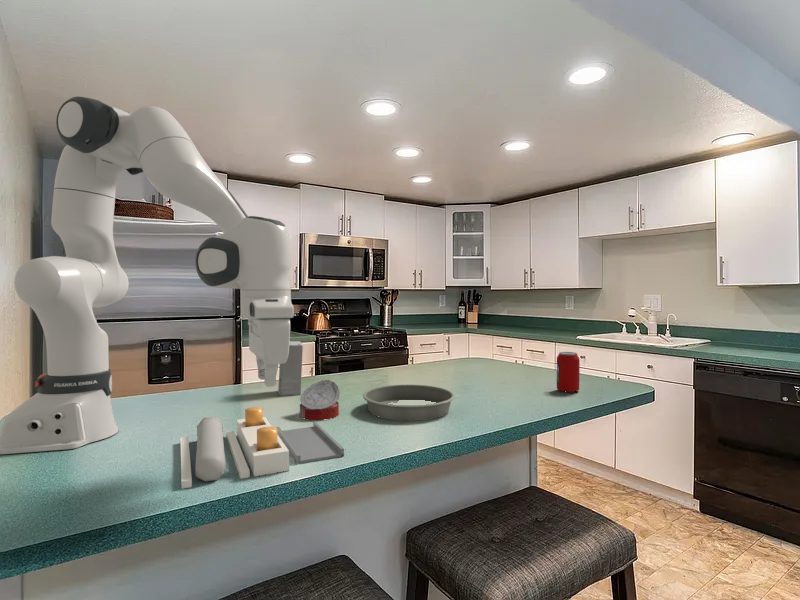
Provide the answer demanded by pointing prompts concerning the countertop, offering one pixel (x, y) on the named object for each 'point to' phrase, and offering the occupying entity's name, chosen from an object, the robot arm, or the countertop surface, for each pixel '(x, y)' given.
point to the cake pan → (394, 393)
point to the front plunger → (266, 438)
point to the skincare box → (291, 371)
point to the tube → (210, 449)
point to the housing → (257, 459)
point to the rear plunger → (253, 416)
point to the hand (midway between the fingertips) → (266, 382)
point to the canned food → (320, 401)
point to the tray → (310, 444)
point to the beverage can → (568, 371)
